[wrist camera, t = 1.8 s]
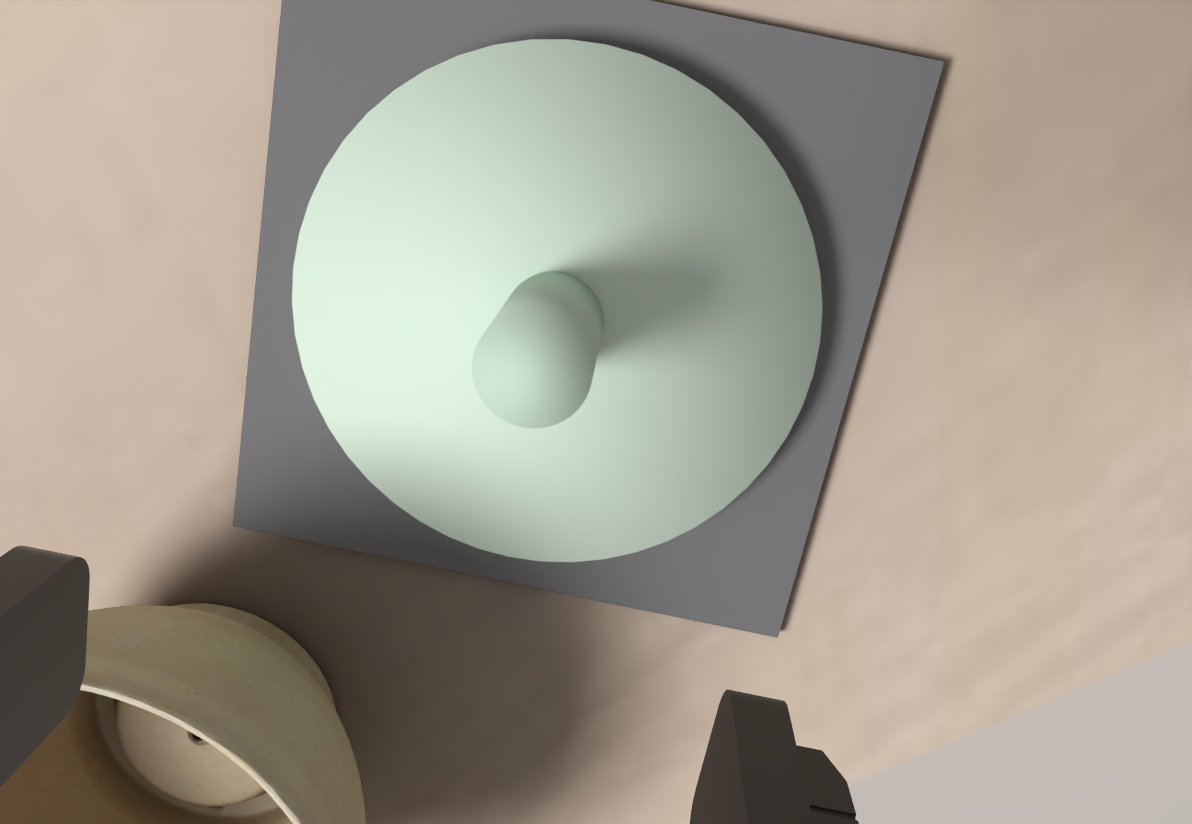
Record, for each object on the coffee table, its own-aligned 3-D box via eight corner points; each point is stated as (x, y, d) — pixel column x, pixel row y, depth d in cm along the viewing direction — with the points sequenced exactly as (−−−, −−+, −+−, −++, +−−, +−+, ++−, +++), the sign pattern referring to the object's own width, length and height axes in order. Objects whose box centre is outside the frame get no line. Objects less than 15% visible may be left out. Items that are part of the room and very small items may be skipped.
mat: (941, 62, 31) (944, 61, 30) (776, 632, 37) (777, 637, 36) (293, -74, 31) (288, -76, 30) (237, 521, 37) (232, 526, 36)
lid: (880, 102, 31) (943, 106, 24) (746, 592, 36) (767, 706, 29) (333, -12, 31) (243, -40, 24) (278, 496, 36) (192, 589, 29)
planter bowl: (503, 783, 40) (450, 1028, 29) (177, 928, 43) (25, 1197, 32) (271, 440, 36) (114, 584, 25) (-69, 628, 39) (-331, 824, 29)
